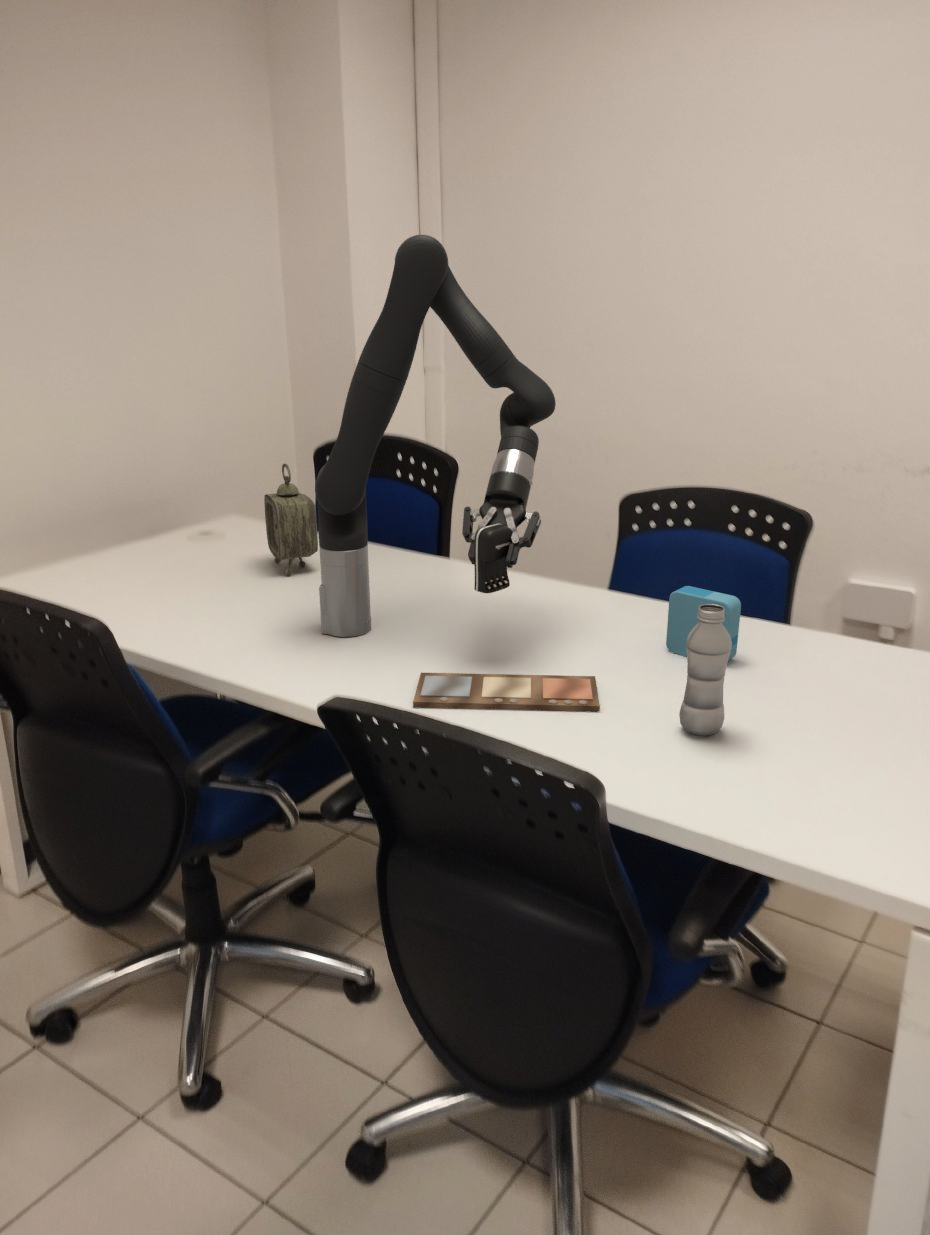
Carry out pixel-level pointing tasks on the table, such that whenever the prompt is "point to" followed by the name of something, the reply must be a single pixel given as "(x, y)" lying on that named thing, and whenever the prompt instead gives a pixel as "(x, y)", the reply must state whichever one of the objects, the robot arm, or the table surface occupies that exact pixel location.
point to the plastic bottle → (706, 672)
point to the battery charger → (491, 558)
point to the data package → (685, 616)
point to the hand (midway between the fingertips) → (491, 563)
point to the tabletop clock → (290, 523)
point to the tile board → (507, 692)
